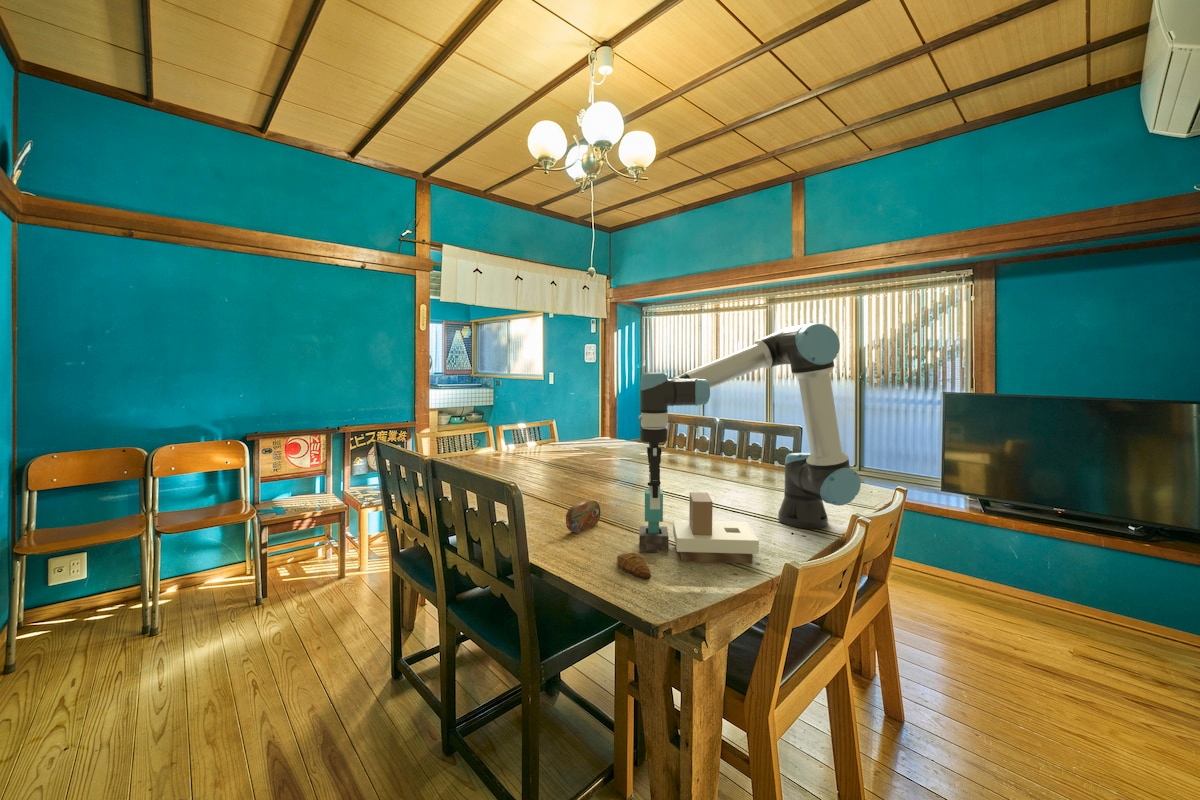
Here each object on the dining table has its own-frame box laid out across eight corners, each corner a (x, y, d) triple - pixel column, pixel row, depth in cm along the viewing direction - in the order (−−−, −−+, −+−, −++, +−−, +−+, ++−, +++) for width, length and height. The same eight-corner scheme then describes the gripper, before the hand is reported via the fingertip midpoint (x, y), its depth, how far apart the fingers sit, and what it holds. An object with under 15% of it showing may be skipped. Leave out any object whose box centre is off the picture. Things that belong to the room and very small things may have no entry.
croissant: (607, 564, 125) (607, 546, 125) (629, 559, 129) (629, 541, 128) (636, 585, 114) (636, 564, 113) (659, 578, 117) (659, 559, 117)
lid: (746, 533, 136) (746, 490, 135) (758, 553, 122) (759, 505, 121) (673, 532, 138) (673, 489, 137) (676, 551, 123) (677, 504, 123)
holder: (666, 543, 140) (666, 526, 140) (668, 553, 132) (668, 536, 132) (639, 542, 141) (639, 525, 140) (639, 553, 133) (639, 535, 132)
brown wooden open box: (742, 549, 135) (742, 528, 135) (751, 566, 123) (752, 544, 123) (677, 547, 137) (678, 526, 136) (681, 564, 125) (681, 542, 125)
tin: (571, 536, 146) (571, 509, 146) (564, 534, 148) (563, 507, 148) (601, 523, 158) (601, 498, 158) (593, 521, 160) (593, 496, 160)
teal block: (661, 541, 139) (662, 489, 138) (662, 548, 134) (662, 493, 133) (644, 541, 139) (644, 488, 138) (644, 547, 134) (644, 493, 133)
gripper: (640, 422, 147) (641, 490, 148) (640, 433, 122) (641, 515, 123) (665, 422, 146) (665, 490, 148) (670, 433, 121) (670, 515, 123)
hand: (654, 501), depth 136 cm, fingers open, 13 cm apart
